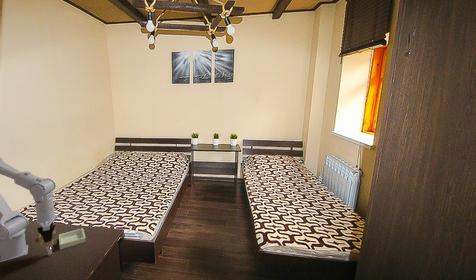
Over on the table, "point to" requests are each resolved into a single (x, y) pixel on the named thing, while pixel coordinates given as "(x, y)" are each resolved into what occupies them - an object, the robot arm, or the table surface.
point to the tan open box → (43, 244)
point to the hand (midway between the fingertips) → (48, 238)
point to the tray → (72, 238)
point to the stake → (49, 250)
